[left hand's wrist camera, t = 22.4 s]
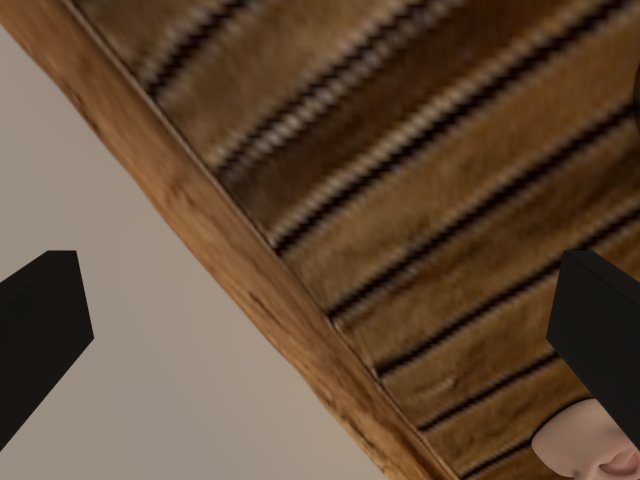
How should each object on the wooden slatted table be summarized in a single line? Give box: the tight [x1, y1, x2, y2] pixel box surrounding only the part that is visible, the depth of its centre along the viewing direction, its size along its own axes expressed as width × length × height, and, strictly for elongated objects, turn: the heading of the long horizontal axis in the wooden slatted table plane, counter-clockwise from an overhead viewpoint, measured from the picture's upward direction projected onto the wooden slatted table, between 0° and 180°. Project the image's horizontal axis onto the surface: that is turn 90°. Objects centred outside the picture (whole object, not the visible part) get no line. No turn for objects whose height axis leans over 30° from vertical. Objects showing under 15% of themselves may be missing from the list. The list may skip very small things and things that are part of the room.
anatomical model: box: [532, 399, 640, 480], centre depth 47 cm, size 13×4×12 cm
